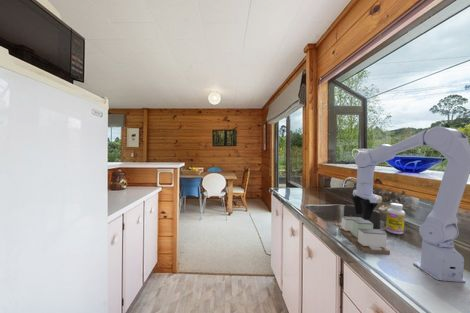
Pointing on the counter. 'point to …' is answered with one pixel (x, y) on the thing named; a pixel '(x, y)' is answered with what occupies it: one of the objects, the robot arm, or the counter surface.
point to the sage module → (360, 226)
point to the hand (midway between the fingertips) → (362, 216)
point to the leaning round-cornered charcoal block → (350, 212)
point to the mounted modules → (365, 233)
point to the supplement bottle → (395, 219)
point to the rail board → (363, 248)
